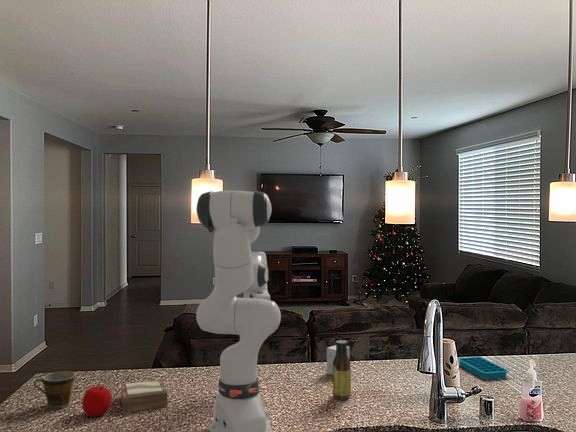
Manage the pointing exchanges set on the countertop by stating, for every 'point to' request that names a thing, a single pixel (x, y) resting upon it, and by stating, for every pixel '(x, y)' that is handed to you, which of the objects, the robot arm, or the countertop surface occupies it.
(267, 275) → the robot arm
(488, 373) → the ice cube tray
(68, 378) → the ceramic cup
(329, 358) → the small box
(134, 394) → the base
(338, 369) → the sauce bottle
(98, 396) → the fruit
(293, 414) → the countertop surface
